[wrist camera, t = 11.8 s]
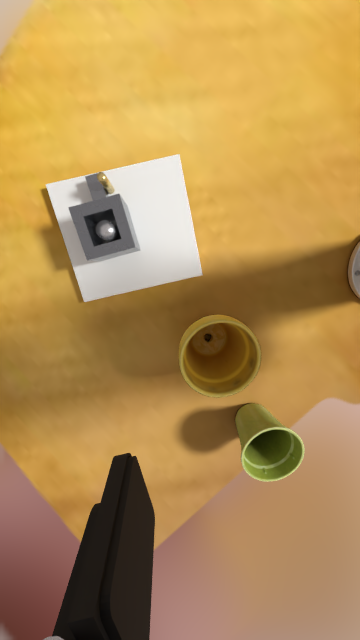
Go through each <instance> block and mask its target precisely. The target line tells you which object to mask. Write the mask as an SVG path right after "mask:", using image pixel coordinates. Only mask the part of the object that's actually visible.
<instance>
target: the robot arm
mask: <svg viewBox="0 0 360 640" xmlns="http://www.w3.org/2000/svg"><path fill="white" fill-rule="evenodd" d="M348 279H349V284H350V286H351V289H352V290H353V292H354V293H355V295H356V296H357V297H359V298H360V241H359V243H358V244H357V245H356V247H355V249H354V251H353V252H352V255H351V258H350V261H349V266H348ZM154 527H155V515H154V509H153V506H152V503H151V500H150V497H149V494H148V491H147V488H146V485H145V482H144V478H143V475H142V472H141V469H140V466H139V463H138V460H137V457H136V456H133V457H132V456H131V454H130V453H126V454H122V455H118V456H114V458H113V460H112V464H111V467H110V471H109V475H108V478H107V482H106V485H105V489H104V492H103V496H102V500H101V503H97V504H95V505H94V506H93V508H92V510H91V512H90V515H89V519H88V522H87V525H86V528H85V531H84V535H83V538H82V541H81V544H80V548H79V551H78V554H77V557H76V560H75V564H74V567H73V570H72V573H71V577H70V580H69V583H68V586H67V590H66V593H65V596H64V599H63V602H62V606H61V609H60V612H59V615H58V619H57V622H56V625H55V629H54V631H53V635H52V637H47V638H45V639H44V640H149V633H150V611H151V590H152V568H153V548H154Z"/></svg>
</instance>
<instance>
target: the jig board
mask: <svg viewBox="0 0 360 640" xmlns="http://www.w3.org/2000/svg"><path fill="white" fill-rule="evenodd" d="M98 173H99V172H98ZM103 173H104V174H105V175H106V177H107V178H108V180H109V181H110V183H111V184H112V185H113V187H114V189H115V191H114V193H113V194H110V193H108V192H107V193H108V196H112V195H115V194H120V195H121V197H122V198H123V200H124V201H125V203H126V204H127V206H128V209H129V213H130V216H131V219H132V223H133V226H134V229H135V233H136V236H137V240H138V243H139V246H140V251H137V252H133V253H129V254H126V255H122V256H118V257H115V258H111V259H108V260H104V261H87V259H86V256H85V253H84V251H83V248H82V245H81V242H80V239H79V237H78V234H77V231H76V228H75V225H74V223H73V220H72V217H71V214H70V211H69V208H68V207H72V206H76V205H79V204H83V203H86V202H90V201H93V200H92V197H91V194H90V191H89V188H88V184H87V181H86V178H85V176H89V175H92V174H89V175H85V176H81V177H76V178H72V179H67V180H63V181H59V182H54V183H50V184H46V187H47V190H48V193H49V196H50V199H51V202H52V205H53V208H54V212H55V215H56V218H57V221H58V224H59V227H60V230H61V233H62V236H63V239H64V242H65V245H66V248H67V251H68V254H69V257H70V260H71V263H72V266H73V269H74V272H75V275H76V278H77V281H78V284H79V287H80V290H81V294H82V297H83V300H84V302H87V301H91V300H96V299H100V298H104V297H109V296H113V295H118V294H122V293H126V292H131V291H135V290H139V289H144V288H148V287H152V286H157V285H161V284H166V283H170V282H174V281H179V280H183V279H187V278H192V277H196V276H200V275H203V274H202V269H201V264H200V259H199V254H198V248H197V243H196V238H195V233H194V228H193V223H192V218H191V212H190V207H189V202H188V197H187V192H186V187H185V181H184V176H183V171H182V166H181V161H180V156H179V154H177V155H173V156H169V157H164V158H160V159H155V160H151V161H147V162H142V163H138V164H133V165H129V166H125V167H120V168H116V169H111V170H107V171H103ZM94 174H96V173H94ZM110 222H111V223H112V224H114V225H115V226H116V227H117V228H118V226H117V223H116V220H114V221H110ZM102 240H103V239H102ZM103 243H104V244H105V243H109V242H108V241H106V240H103Z"/></svg>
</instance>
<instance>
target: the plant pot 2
mask: <svg viewBox="0 0 360 640" xmlns="http://www.w3.org/2000/svg"><path fill="white" fill-rule="evenodd" d="M235 423H236V427H237V431H238V434H239V438H240V442H241V447H242V448H241V451H242V452H241V462H242V466H243V468H244V470H245V471H246V472H247V474H248V475H250V476H251V477H253V478H255V479H257V480H260V481H276V480H280V479H283V478H285V477H287V476H289V475H290V474H291V473H292V472H294V471H295V470H296V469H297V468H298V467H299V465H300V463H301V462H302V459H303V457H304V445H303V442H302V440H301V438H300V437H299V436H298V435H297V434H296V433H295V432H294V431H292V430H291V429H289V428H287V427H285V426H283V425H282V424H281V423H280V422H279V421H278V420H277V419H276V418H275V417H274V416H273V415H272V414H271V413H270V412H269V411H268V410H267V409H266V408H264V407H263V406H262V405H259V404H254V403H250V404H246V405H244V406H243V407H241V408H240V409H239V410H238V412H237V415H236V418H235Z"/></svg>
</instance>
